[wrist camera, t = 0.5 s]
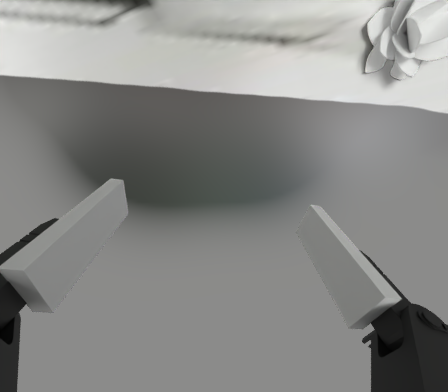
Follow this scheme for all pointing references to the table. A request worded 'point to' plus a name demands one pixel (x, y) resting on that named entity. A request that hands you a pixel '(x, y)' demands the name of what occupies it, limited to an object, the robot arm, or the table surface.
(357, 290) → the robot arm
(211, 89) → the table surface
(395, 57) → the lotus flower
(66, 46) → the table surface
